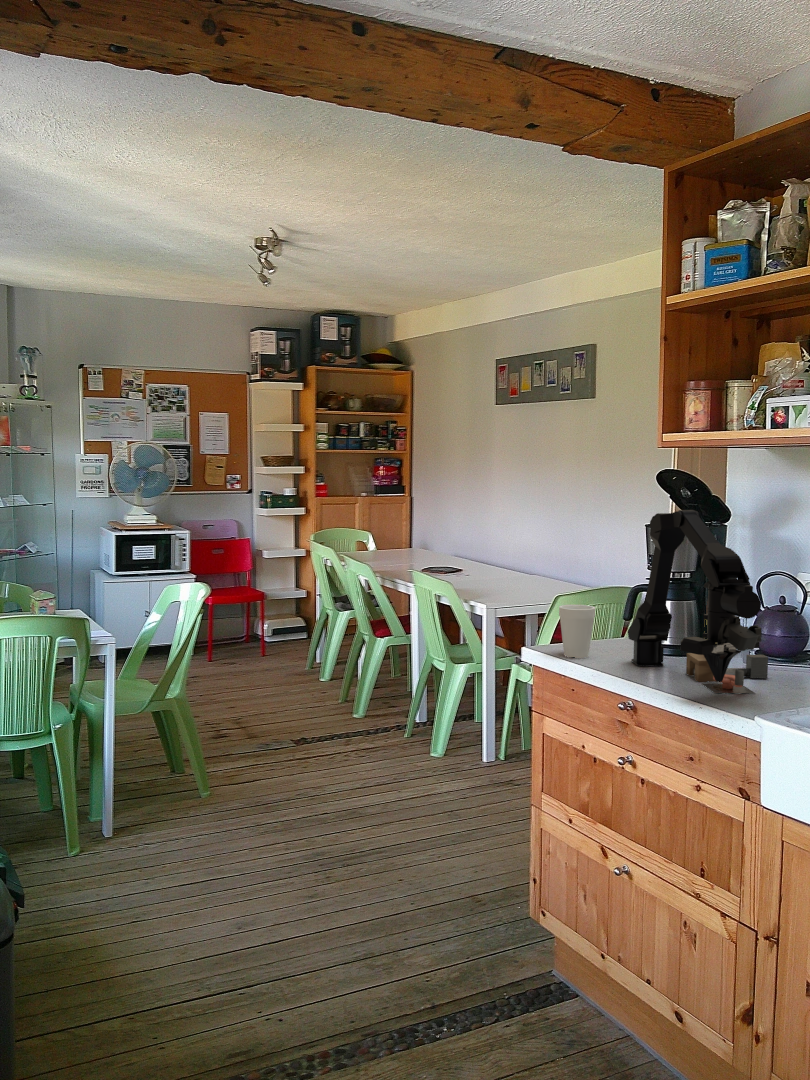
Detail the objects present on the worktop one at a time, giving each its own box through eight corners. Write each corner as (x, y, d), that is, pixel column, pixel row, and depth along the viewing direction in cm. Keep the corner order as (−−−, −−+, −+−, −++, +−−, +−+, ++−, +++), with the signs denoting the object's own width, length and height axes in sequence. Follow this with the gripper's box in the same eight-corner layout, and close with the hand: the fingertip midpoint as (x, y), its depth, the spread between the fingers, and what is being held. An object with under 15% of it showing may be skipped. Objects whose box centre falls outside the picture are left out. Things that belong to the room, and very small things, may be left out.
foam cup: (572, 660, 240) (573, 610, 239) (551, 654, 248) (551, 605, 247) (601, 657, 244) (602, 608, 243) (579, 651, 252) (580, 603, 251)
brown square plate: (715, 693, 206) (715, 692, 206) (701, 684, 215) (701, 683, 215) (755, 693, 206) (755, 692, 206) (739, 684, 215) (739, 683, 215)
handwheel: (708, 684, 214) (709, 661, 213) (736, 684, 214) (737, 661, 214) (725, 695, 203) (726, 671, 203) (754, 695, 204) (755, 671, 203)
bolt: (696, 678, 220) (696, 657, 220) (692, 675, 223) (692, 654, 223) (767, 678, 221) (768, 657, 220) (762, 675, 224) (763, 654, 223)
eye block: (698, 681, 217) (698, 660, 217) (686, 673, 226) (686, 653, 226) (723, 681, 218) (724, 660, 217) (710, 673, 226) (711, 653, 226)
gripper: (720, 619, 191) (717, 694, 192) (781, 613, 200) (778, 684, 202) (679, 612, 201) (677, 683, 202) (739, 606, 210) (737, 674, 211)
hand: (718, 681), depth 204 cm, fingers closed
